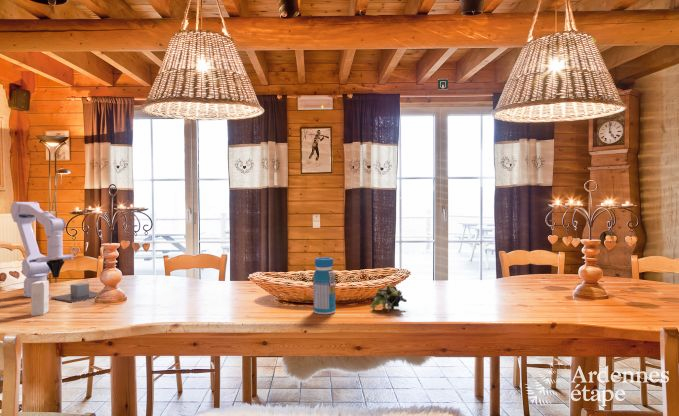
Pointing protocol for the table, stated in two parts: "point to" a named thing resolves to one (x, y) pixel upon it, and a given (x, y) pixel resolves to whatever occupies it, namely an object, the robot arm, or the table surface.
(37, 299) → the skincare box
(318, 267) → the beverage bottle
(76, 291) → the grey cube
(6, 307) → the table surface
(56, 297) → the dark grey flat block
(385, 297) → the green leafy plant
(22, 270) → the robot arm
